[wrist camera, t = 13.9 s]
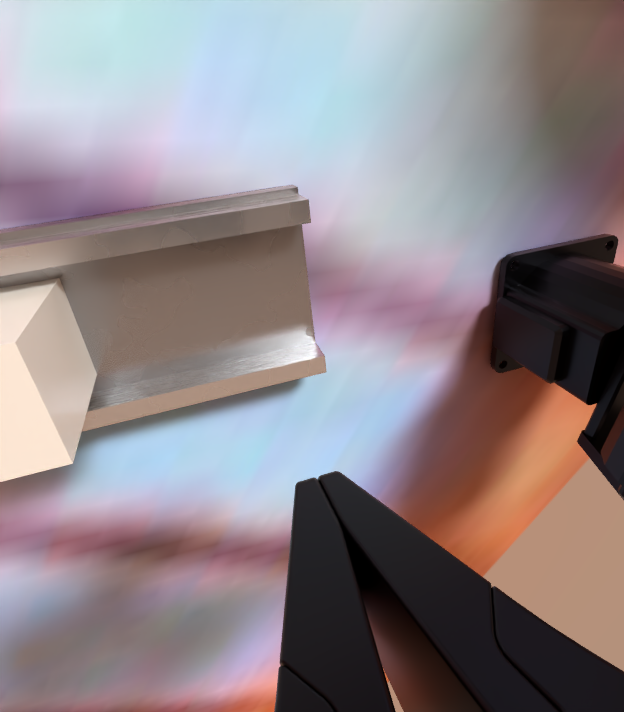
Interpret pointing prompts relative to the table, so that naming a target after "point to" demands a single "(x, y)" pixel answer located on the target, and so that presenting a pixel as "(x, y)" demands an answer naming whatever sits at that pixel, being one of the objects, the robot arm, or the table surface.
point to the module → (40, 379)
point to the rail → (179, 297)
